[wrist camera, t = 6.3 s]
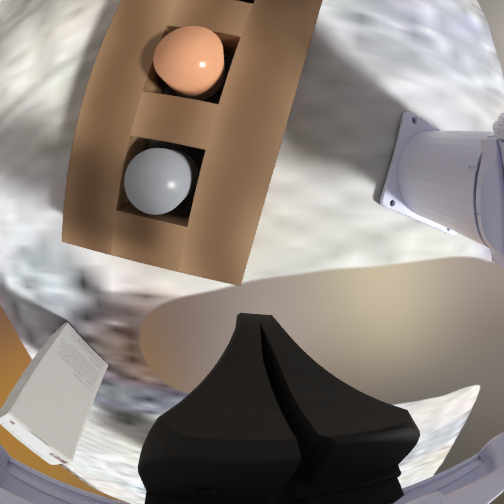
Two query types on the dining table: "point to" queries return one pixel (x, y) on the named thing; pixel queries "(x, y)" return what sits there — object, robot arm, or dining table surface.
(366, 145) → the dining table surface
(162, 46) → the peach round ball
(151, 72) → the walnut button box
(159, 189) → the slate plunger
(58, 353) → the skincare box
